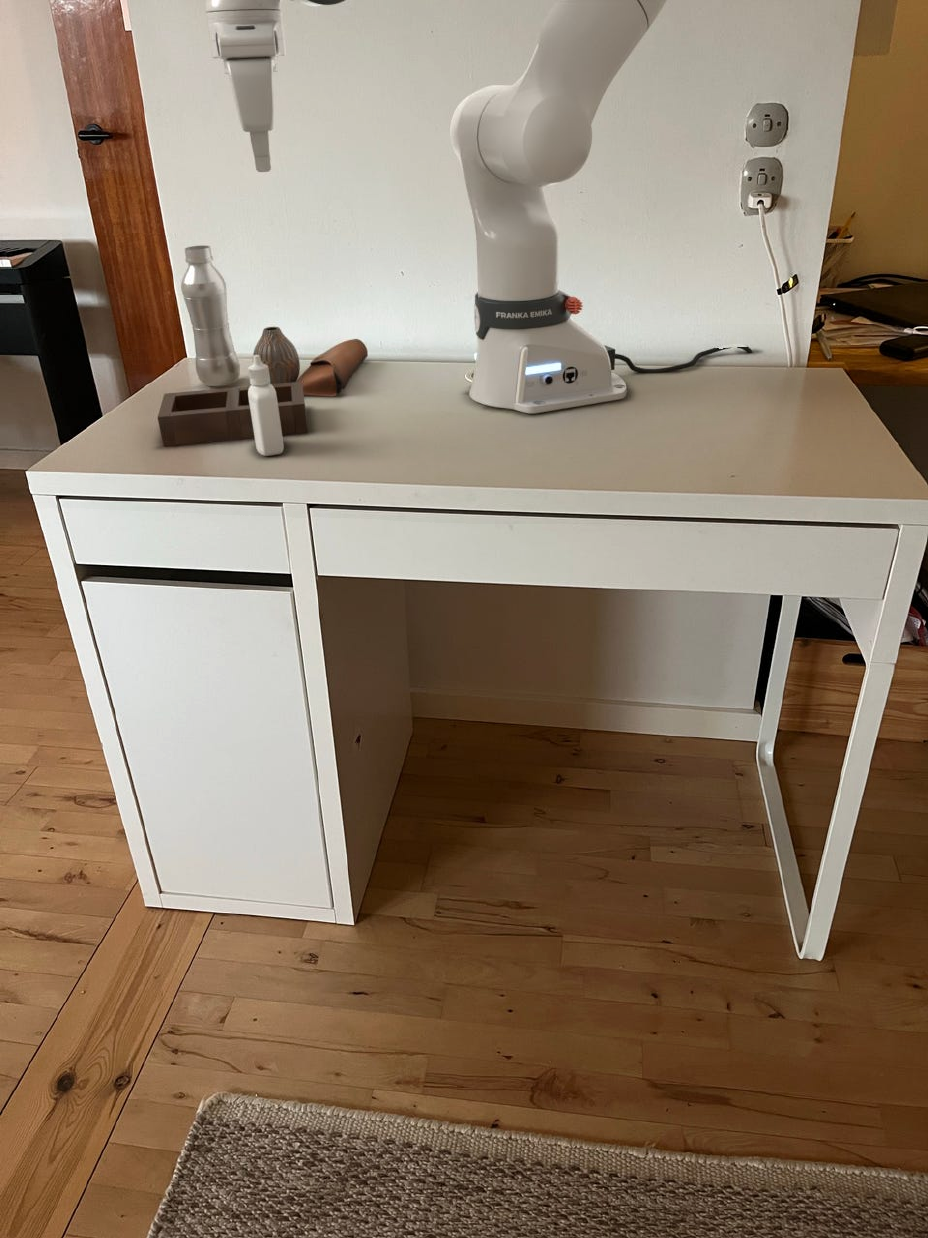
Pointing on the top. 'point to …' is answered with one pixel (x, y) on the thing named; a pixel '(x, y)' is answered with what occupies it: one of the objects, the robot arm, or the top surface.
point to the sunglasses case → (333, 369)
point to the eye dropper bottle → (264, 410)
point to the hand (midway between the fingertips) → (263, 167)
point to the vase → (278, 356)
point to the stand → (225, 414)
